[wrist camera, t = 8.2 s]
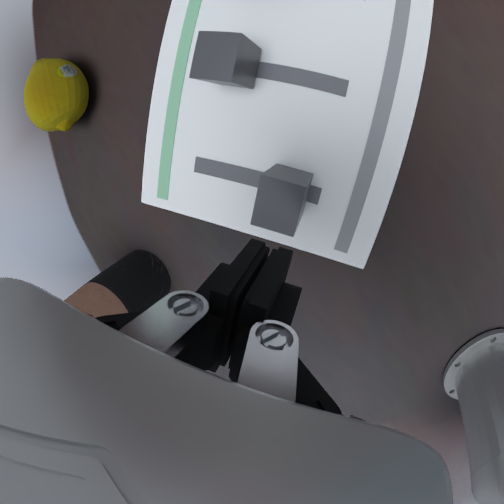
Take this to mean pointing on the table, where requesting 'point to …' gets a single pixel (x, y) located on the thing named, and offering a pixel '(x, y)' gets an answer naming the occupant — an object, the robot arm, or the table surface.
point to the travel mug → (124, 287)
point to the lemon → (55, 94)
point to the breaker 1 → (225, 59)
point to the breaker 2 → (281, 199)
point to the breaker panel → (290, 115)
